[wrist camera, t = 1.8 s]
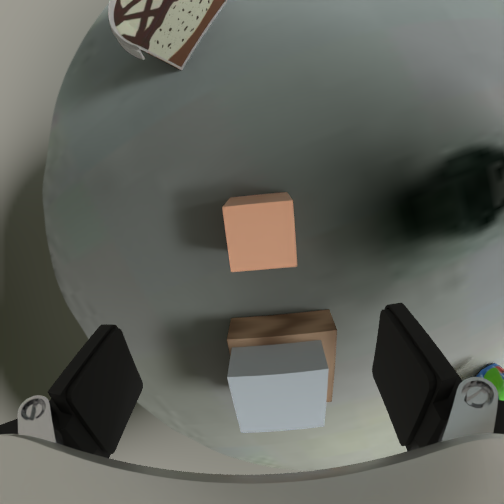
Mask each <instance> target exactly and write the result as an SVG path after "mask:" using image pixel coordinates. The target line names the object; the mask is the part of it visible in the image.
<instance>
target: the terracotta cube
mask: <svg viewBox="0 0 504 504" xmlns="http://www.w3.org/2000/svg"><path fill="white" fill-rule="evenodd" d="M222 209H223V216H224V224H225V232H226V239H227V246H228V254H229V261H230V268H231V272H239V271H252V270H263V269H275V268H286V267H297V255H296V239H295V224H294V210H293V200H292V198H291V197H290V195H289V194H288V193H287V192H282V193H270V194H260V195H249V196H240V197H230V198H229V199H228V201H227V202H226V203H225V204H224V206H223V207H222Z"/></svg>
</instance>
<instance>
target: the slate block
mask: <svg viewBox="0 0 504 504" xmlns="http://www.w3.org/2000/svg"><path fill="white" fill-rule="evenodd" d="M328 370H329V368H328V365H327V361H326V357H325V353H324V350H323V346H322V342H321V340H315V341H306V342H297V343H286V344H275V345H263V346H248V347H232V350H231V356H230V362H229V369H228V375H227V379H228V383H229V387H230V391H231V395H232V399H233V403H234V407H235V411H236V415H237V419H238V423H239V426H240V430H241V433H245V432H270V431H285V430H296V429H306V428H314V427H322V426H324V423H325V412H326V400H327V386H328Z"/></svg>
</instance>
